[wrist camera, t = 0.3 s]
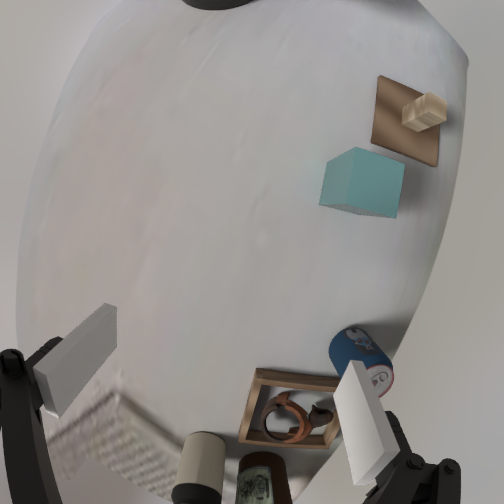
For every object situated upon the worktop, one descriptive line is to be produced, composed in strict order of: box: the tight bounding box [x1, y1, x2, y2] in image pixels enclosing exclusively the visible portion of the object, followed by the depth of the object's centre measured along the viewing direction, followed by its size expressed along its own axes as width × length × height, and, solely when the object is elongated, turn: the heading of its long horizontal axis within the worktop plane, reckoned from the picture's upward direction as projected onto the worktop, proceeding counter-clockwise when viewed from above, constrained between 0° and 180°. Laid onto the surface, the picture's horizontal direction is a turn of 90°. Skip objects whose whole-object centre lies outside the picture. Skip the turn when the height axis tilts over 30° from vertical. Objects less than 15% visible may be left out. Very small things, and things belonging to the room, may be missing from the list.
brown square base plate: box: [371, 75, 447, 167], centre depth 33 cm, size 12×12×9 cm
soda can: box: [329, 328, 394, 398], centre depth 37 cm, size 7×7×12 cm
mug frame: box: [238, 368, 341, 449], centre depth 43 cm, size 15×17×3 cm
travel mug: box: [171, 432, 226, 504], centre depth 37 cm, size 8×8×18 cm
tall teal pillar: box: [319, 147, 405, 218], centre depth 34 cm, size 6×6×12 cm
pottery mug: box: [260, 392, 334, 444], centre depth 42 cm, size 12×9×8 cm
